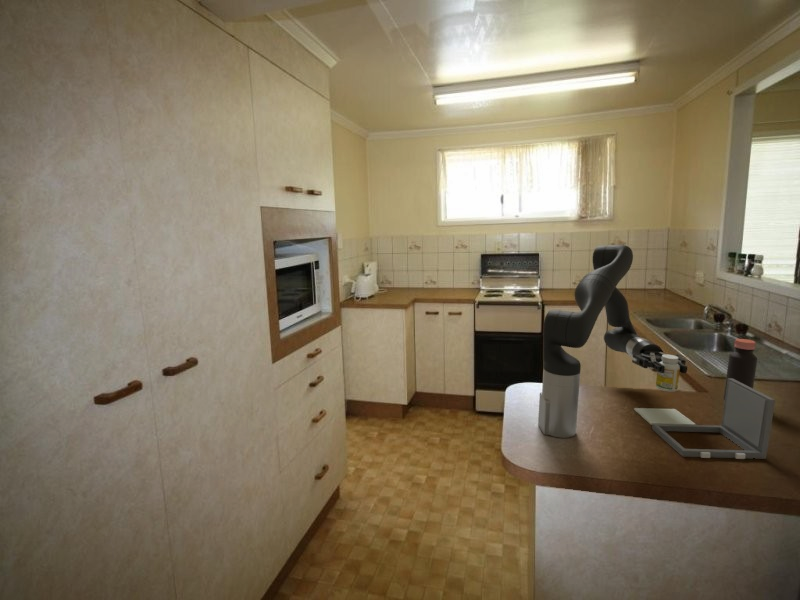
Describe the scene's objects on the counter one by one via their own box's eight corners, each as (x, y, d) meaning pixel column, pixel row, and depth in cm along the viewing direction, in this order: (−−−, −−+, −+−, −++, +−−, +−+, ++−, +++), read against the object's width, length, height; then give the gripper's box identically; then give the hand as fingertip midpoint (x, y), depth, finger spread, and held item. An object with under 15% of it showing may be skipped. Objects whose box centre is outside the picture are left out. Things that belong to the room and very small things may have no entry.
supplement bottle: (664, 392, 118) (667, 360, 116) (651, 385, 124) (654, 354, 122) (682, 391, 119) (686, 359, 117) (668, 384, 124) (671, 353, 122)
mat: (651, 424, 118) (651, 423, 118) (633, 409, 128) (634, 408, 128) (695, 425, 117) (695, 424, 117) (674, 410, 127) (675, 408, 127)
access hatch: (683, 457, 101) (691, 399, 99) (652, 429, 116) (657, 377, 113) (767, 460, 100) (777, 400, 97) (725, 430, 114) (732, 378, 112)
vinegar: (740, 398, 136) (749, 338, 132) (756, 406, 129) (765, 344, 126) (718, 397, 137) (726, 337, 133) (732, 406, 130) (741, 343, 126)
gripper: (621, 339, 134) (649, 356, 117) (668, 340, 133) (702, 357, 116) (619, 362, 135) (646, 382, 119) (665, 362, 134) (699, 383, 118)
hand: (674, 369), depth 117 cm, fingers closed on supplement bottle, 5 cm apart
